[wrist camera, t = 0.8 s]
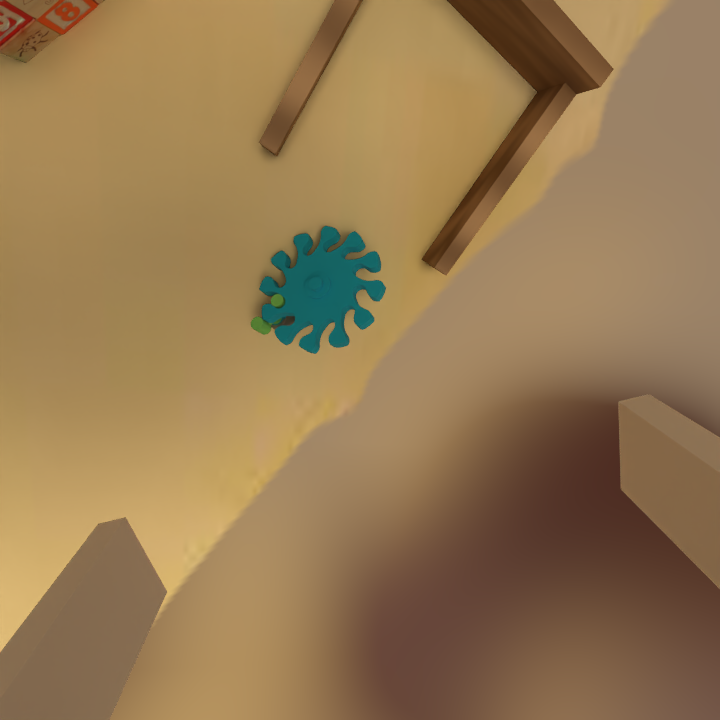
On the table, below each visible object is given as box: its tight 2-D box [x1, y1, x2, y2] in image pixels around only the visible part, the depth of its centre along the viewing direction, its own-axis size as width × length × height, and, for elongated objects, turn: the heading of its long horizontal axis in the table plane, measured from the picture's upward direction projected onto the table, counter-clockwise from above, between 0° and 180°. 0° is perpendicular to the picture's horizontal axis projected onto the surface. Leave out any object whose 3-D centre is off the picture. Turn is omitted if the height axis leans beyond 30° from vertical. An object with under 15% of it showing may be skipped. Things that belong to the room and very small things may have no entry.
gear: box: [251, 226, 386, 354], centre depth 34 cm, size 11×6×10 cm
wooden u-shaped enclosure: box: [259, 0, 613, 275], centre depth 29 cm, size 16×16×6 cm
